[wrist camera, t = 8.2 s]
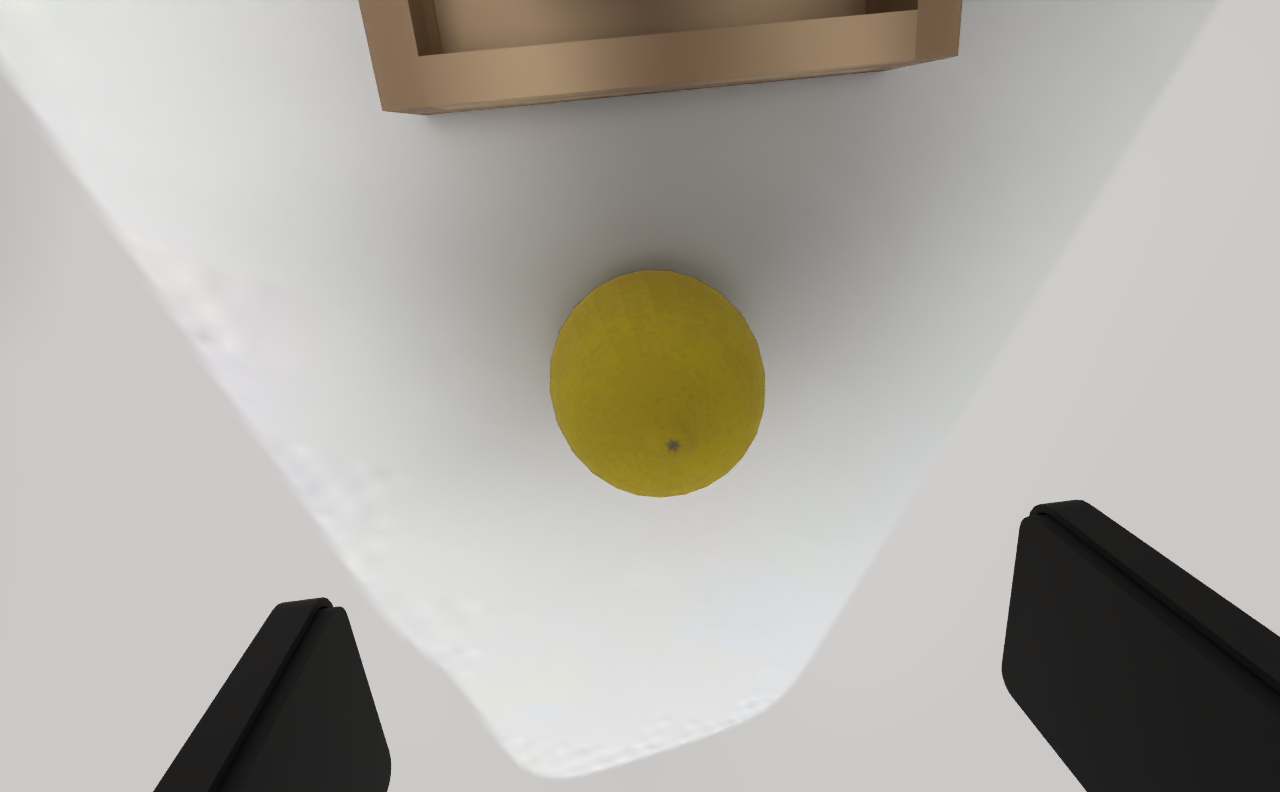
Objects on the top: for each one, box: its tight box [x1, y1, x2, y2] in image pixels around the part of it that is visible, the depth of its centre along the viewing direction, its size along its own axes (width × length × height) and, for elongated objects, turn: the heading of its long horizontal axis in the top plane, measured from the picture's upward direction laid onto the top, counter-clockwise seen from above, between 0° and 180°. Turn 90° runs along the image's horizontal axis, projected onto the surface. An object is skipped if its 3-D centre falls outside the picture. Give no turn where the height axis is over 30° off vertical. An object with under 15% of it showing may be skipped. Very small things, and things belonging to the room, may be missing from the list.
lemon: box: [550, 270, 765, 497], centre depth 18 cm, size 6×6×8 cm
